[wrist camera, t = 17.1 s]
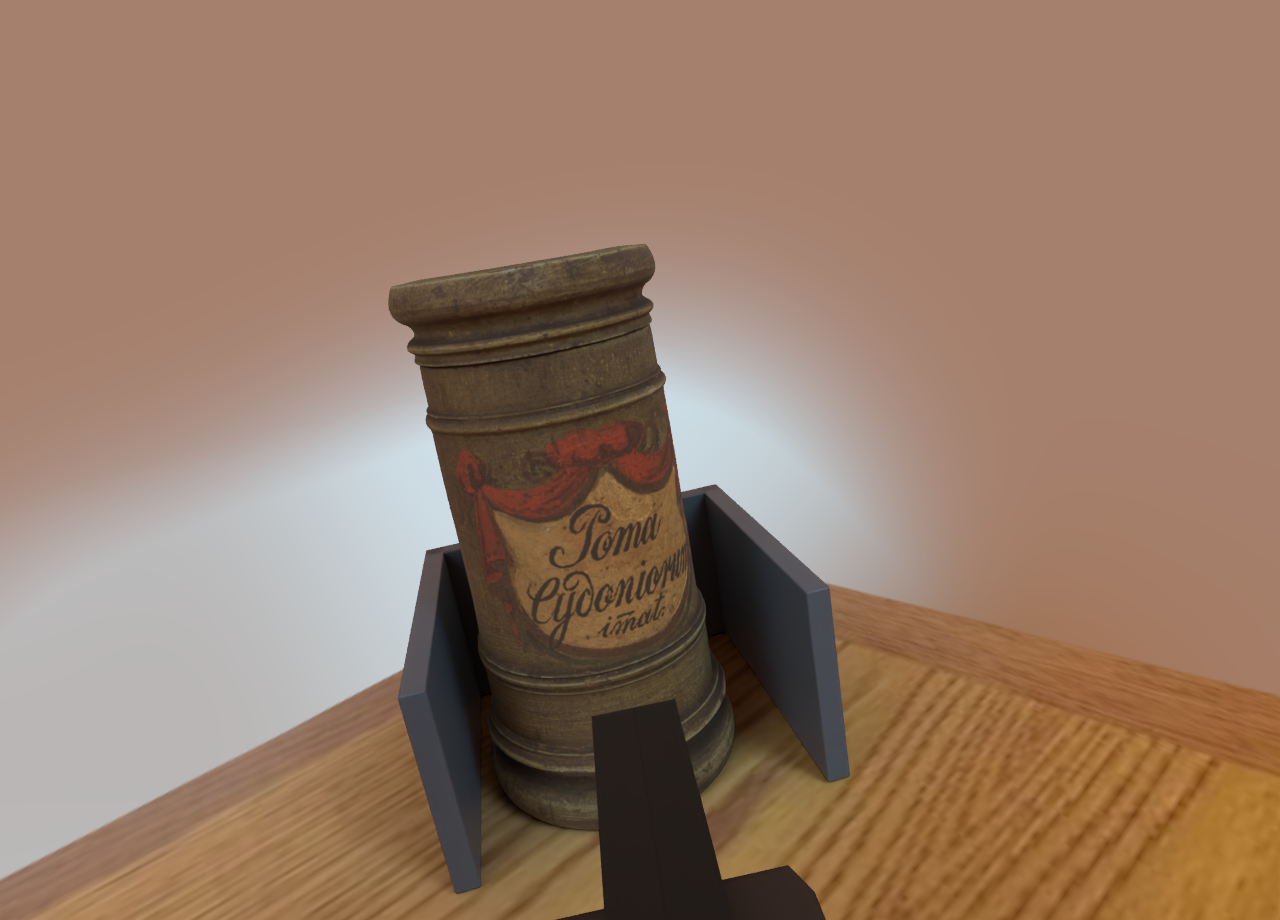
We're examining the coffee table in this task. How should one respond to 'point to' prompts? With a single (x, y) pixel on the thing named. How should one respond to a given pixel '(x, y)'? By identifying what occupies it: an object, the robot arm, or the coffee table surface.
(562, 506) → the container
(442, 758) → the grey u-shaped piece
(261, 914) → the coffee table surface
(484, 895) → the coffee table surface
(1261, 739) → the coffee table surface
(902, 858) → the coffee table surface
